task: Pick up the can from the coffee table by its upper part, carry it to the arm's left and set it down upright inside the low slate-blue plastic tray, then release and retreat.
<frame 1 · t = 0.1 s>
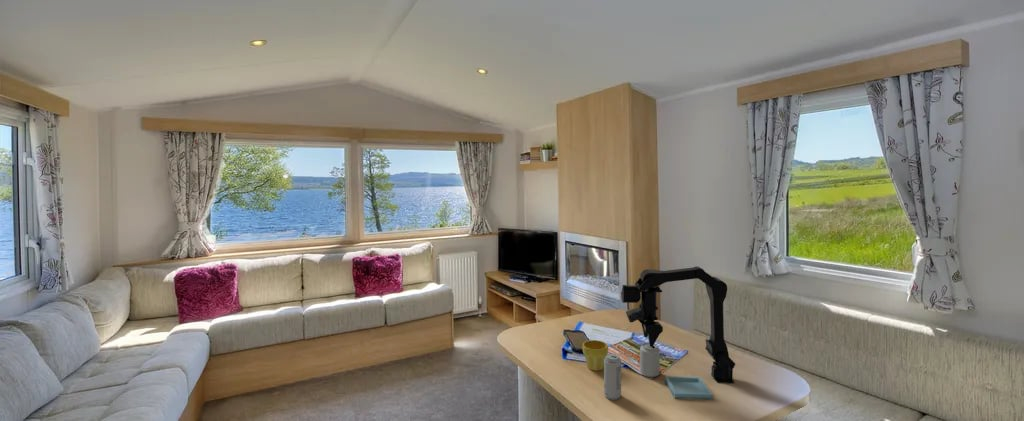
hand: (648, 341, 167), 15 cm above the table, fingers open, 9 cm apart
plant pot: (595, 367, 178), on the table
tray: (687, 389, 158), on the table
energy drink can: (612, 396, 155), on the table
can: (649, 374, 171), on the table
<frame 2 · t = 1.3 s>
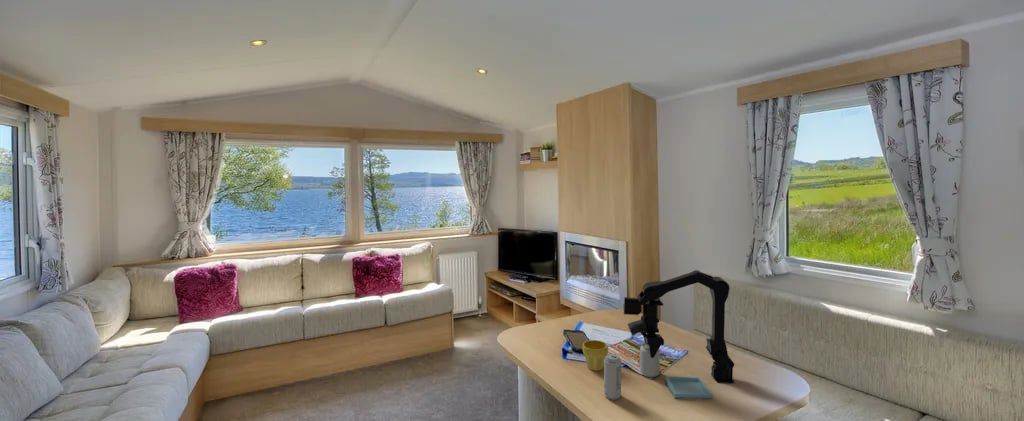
hand: (649, 353, 170), 9 cm above the table, fingers closed on can, 7 cm apart
can: (649, 374, 171), on the table, touching gripper
everything else where it was.
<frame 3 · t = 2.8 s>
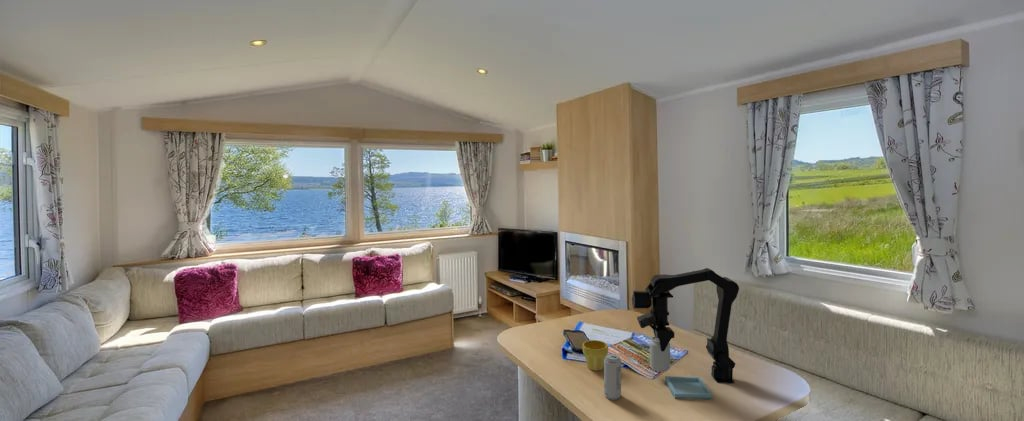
hand: (660, 347, 167), 13 cm above the table, fingers closed on can, 7 cm apart
can: (660, 368, 167), point 4 cm above the table, touching gripper
everything else where it was.
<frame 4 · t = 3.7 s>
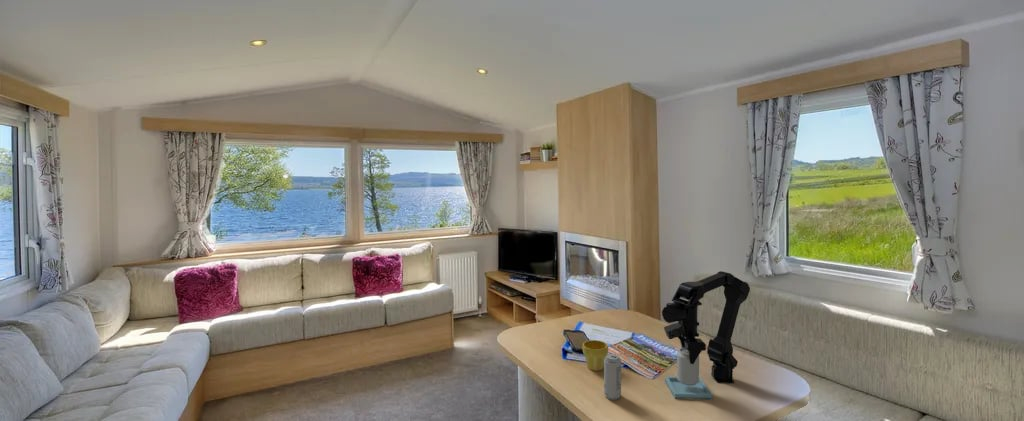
hand: (688, 359, 157), 12 cm above the table, fingers closed on can, 7 cm apart
can: (687, 382, 158), point 3 cm above the table, touching gripper
everything else where it was.
when the fingers open (10 cm above the table, at t = 4.5 s): can stays where it is, resting on tray.
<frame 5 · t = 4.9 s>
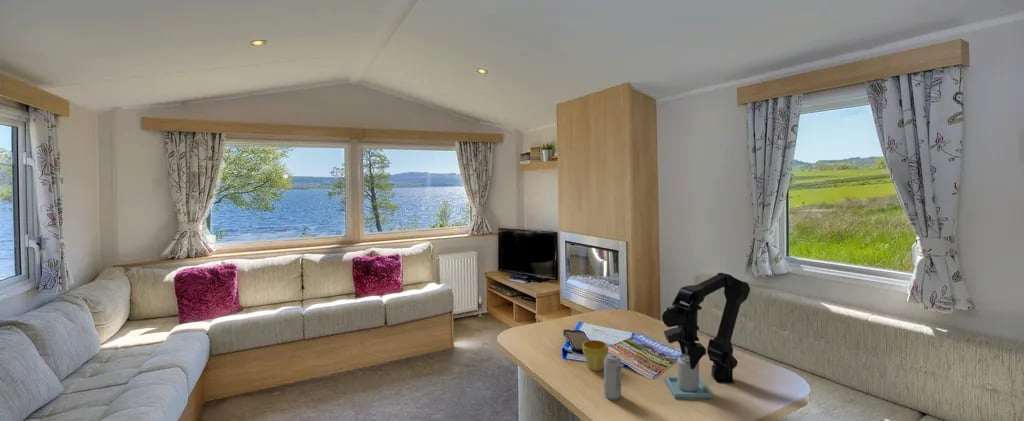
hand: (688, 363, 157), 10 cm above the table, fingers open, 9 cm apart
can: (687, 388, 158), resting on tray
everything else where it was.
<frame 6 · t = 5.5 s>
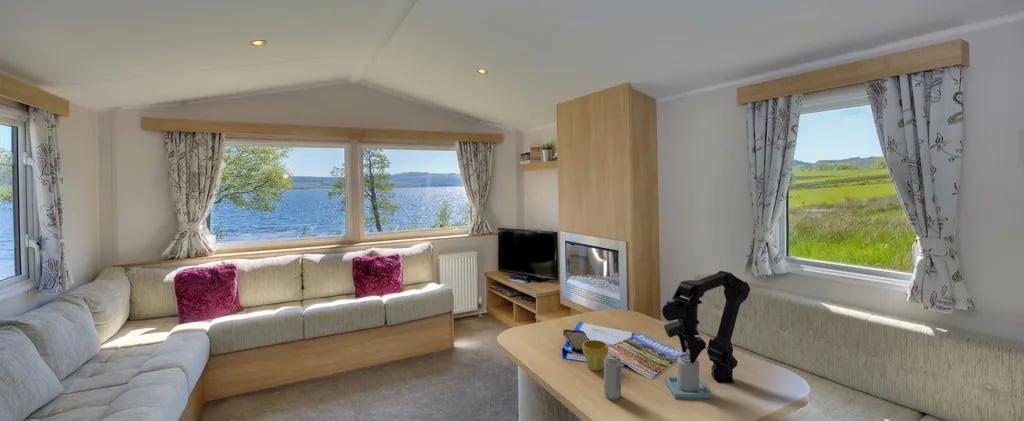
hand: (688, 357, 157), 12 cm above the table, fingers open, 9 cm apart
nothing on the table moved.
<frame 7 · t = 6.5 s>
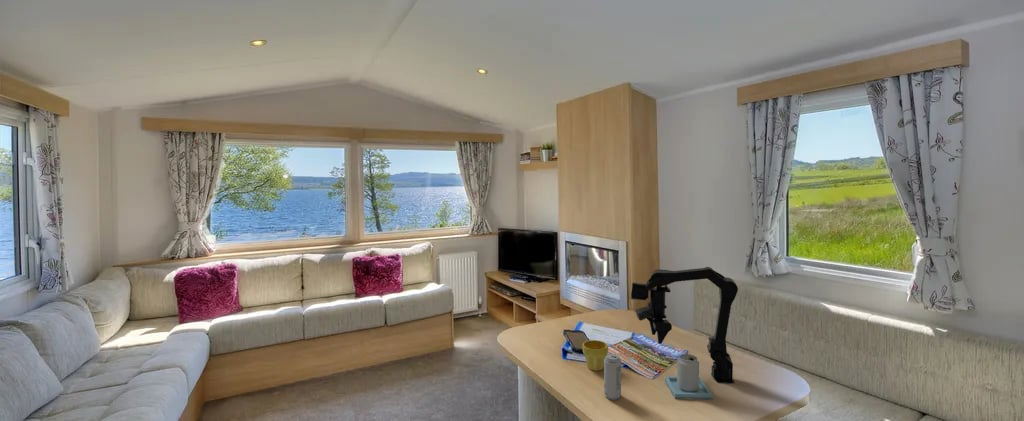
hand: (656, 339, 173), 13 cm above the table, fingers open, 9 cm apart
nothing on the table moved.
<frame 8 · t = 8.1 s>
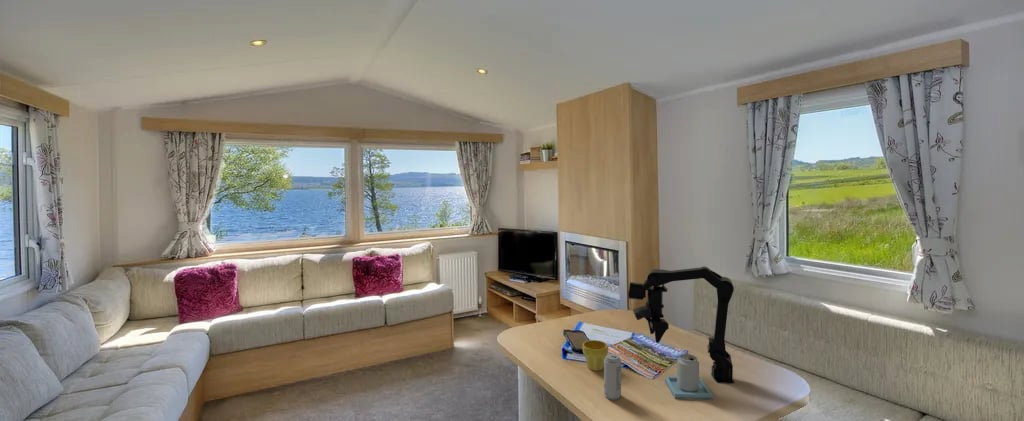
hand: (654, 338, 175), 13 cm above the table, fingers open, 9 cm apart
nothing on the table moved.
at the end: can inside the target area on the tray (0.0 cm from its centre), point 0.4 cm above the tray's base; can tilted 0°; the gripper is holding nothing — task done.
